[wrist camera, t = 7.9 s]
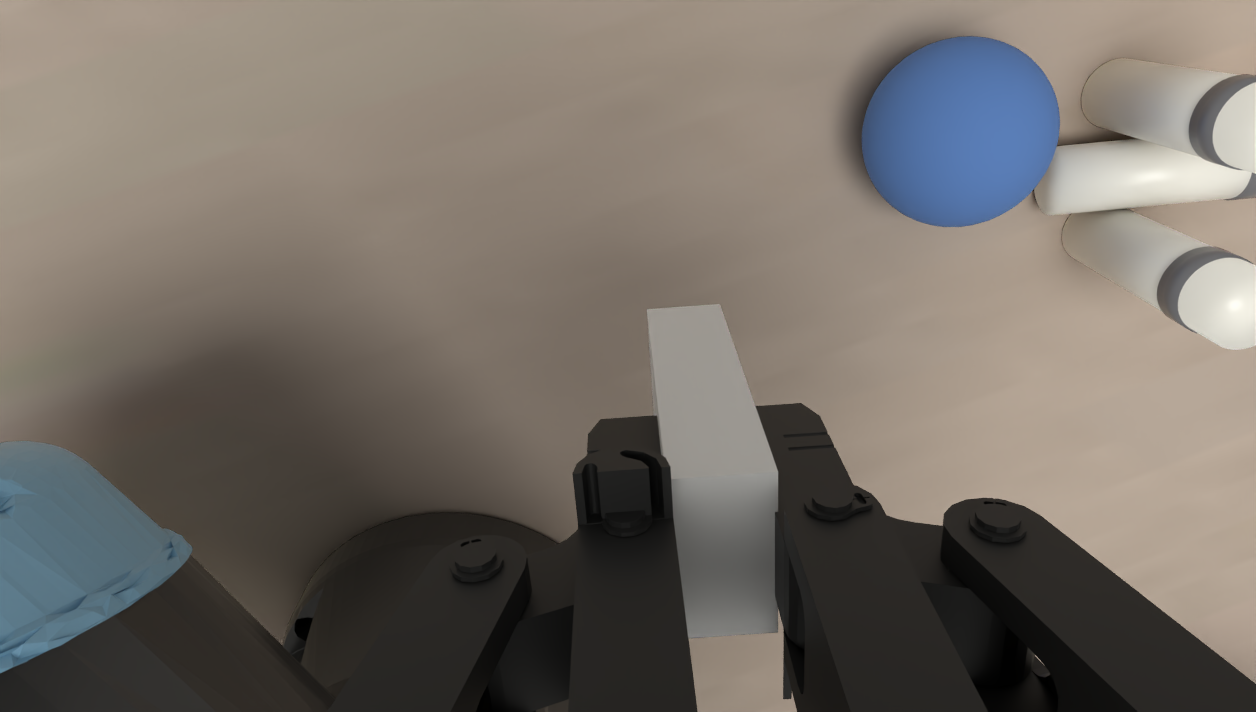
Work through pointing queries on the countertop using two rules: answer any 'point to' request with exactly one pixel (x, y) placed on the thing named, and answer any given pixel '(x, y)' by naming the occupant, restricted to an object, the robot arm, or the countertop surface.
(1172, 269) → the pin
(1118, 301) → the countertop surface
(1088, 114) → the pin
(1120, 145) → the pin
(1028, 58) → the ball
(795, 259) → the countertop surface
